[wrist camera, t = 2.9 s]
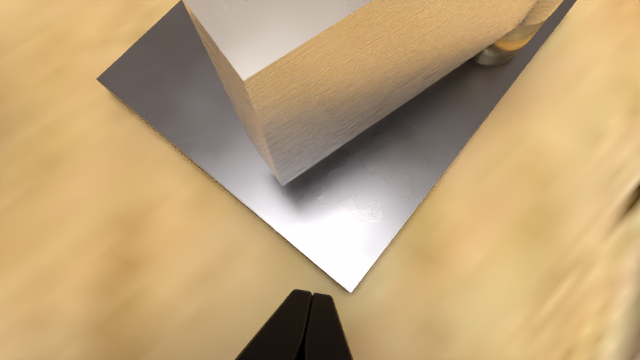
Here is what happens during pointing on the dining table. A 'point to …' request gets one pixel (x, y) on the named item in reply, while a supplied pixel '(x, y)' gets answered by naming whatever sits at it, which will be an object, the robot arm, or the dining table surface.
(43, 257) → the dining table surface
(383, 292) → the dining table surface
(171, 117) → the base
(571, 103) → the dining table surface
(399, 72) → the swing bar
